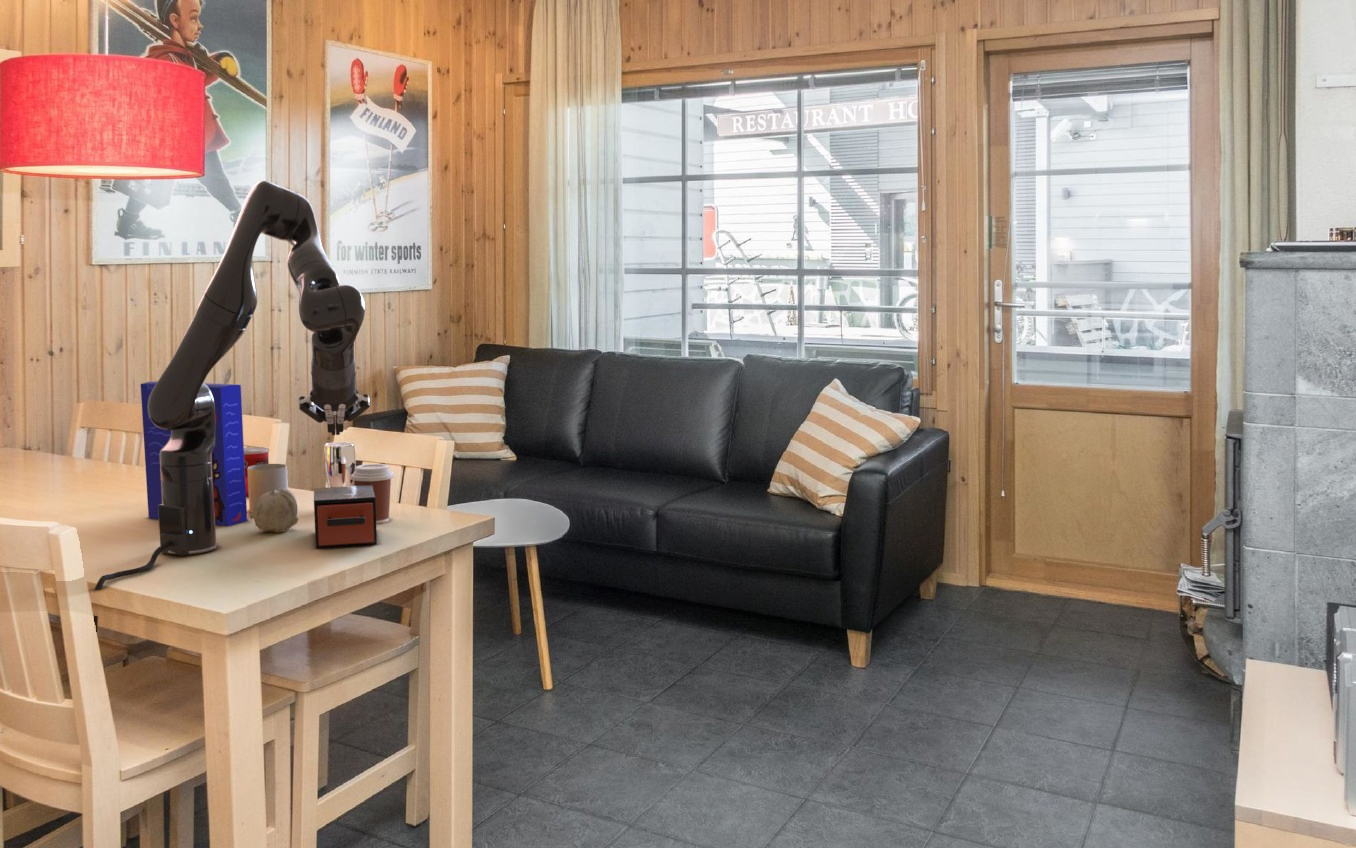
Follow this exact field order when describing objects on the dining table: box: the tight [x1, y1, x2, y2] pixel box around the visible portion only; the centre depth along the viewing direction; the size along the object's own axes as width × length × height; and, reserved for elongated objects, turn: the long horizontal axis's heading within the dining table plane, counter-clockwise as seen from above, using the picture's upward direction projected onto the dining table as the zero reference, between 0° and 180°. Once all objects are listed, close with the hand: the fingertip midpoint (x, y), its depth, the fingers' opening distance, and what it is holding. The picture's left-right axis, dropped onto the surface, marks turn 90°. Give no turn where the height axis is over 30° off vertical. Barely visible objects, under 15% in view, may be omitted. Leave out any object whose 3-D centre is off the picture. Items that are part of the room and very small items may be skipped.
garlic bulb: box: [247, 488, 299, 534], centre depth 236 cm, size 9×8×10 cm
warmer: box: [313, 485, 378, 550], centre depth 229 cm, size 14×12×10 cm
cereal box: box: [140, 380, 248, 527], centre depth 246 cm, size 22×6×30 cm, turn 70°
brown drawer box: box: [317, 501, 374, 546], centre depth 225 cm, size 17×10×8 cm, turn 18°
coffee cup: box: [351, 463, 395, 525], centre depth 246 cm, size 9×9×12 cm
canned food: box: [244, 446, 270, 497], centre depth 276 cm, size 8×8×11 cm
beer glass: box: [323, 441, 357, 487], centre depth 258 cm, size 7×7×15 cm
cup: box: [247, 463, 289, 514], centre depth 257 cm, size 8×8×10 cm
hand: (335, 431), depth 214 cm, fingers closed
